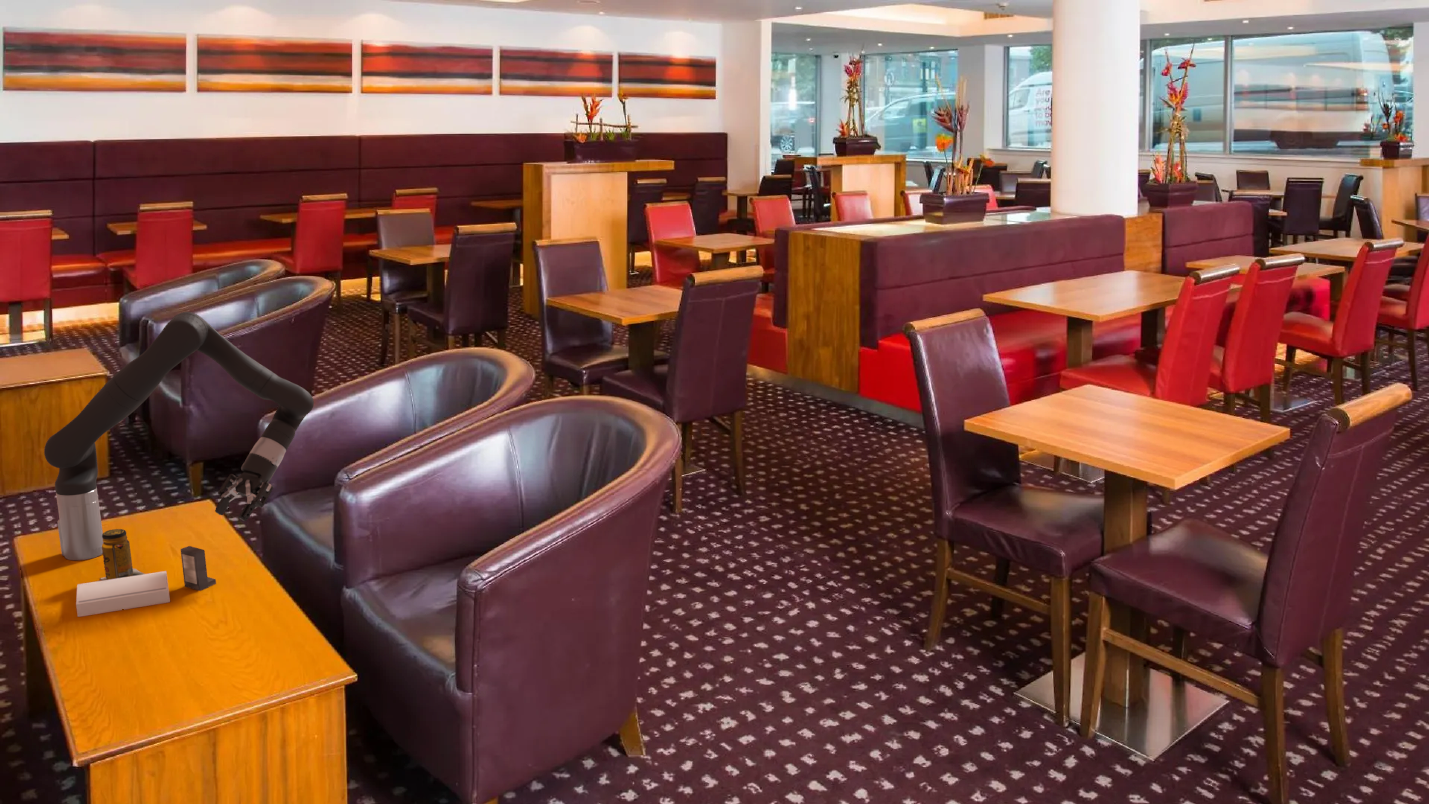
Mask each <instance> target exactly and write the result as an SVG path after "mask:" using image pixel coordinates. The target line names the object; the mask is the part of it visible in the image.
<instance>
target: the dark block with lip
mask: <svg viewBox="0 0 1429 804" xmlns="http://www.w3.org/2000/svg"><path fill="white" fill-rule="evenodd" d="M180 555H181V556H180V557H181V558H180V559H181V564H182V565H181V567H182V573H183V582H184V584H183V585H184V587H185V588H189V589H191V590H195V591H199V592H201V591H203V590H206V589H208V588H209V587H212V586H214V585H216V584H217V580H216V578H213V577H209V576H208V572H207V571H208V568H207V560H206V553H205V549H202V548H199V547H194V546H192V545H188V546H184V547H183V548H182V547H181V548H180Z"/></svg>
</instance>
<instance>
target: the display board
mask: <svg viewBox="0 0 1429 804" xmlns="http://www.w3.org/2000/svg"><path fill="white" fill-rule="evenodd" d="M75 601H76V602H75V607H76V613H77V617H80V618H81V617H87V616H91V615H98V614H104V613H110V612H111V613H112V612H116V611H123V610H122V609H124V610H129V609H135V608H141V607H147V606H154V605H160V604H167V603H170V602H171V599H170V590H169V582H168V574H167V570H164V571H163V570H162V571H157V572H152V573H151V572H150V573H144V574H143V575H137V576H130V577H123V578H117V579H110V580H104V581H103V580H97V581H92V582H91V581H90V582H86V583H85V582H83V583H77V586H76V600H75Z"/></svg>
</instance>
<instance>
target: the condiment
mask: <svg viewBox="0 0 1429 804" xmlns="http://www.w3.org/2000/svg"><path fill="white" fill-rule="evenodd" d="M102 538H103V544H102V552H103V554H102V557H103V565H104V573H105V576H104V577H100V578H99V579H100V580H101V581H104V580H110V579H117V578H123V577H130V576H137V575H143V574H145V573H144V572H141V571H140V570H138V569H137V568H133V561H132V553H131V545H130V541H129V539H128V535H127V530H125V529H123V528H115V529H109V530H106V531H104V532H103V534H102Z"/></svg>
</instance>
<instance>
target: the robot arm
mask: <svg viewBox="0 0 1429 804" xmlns="http://www.w3.org/2000/svg"><path fill="white" fill-rule="evenodd" d="M157 335H158V336H157V337H156V338H155V339H154V340H153V341H152V343H151V344H150V345H149V346H148V347H147V348H146V349H145V351H143V353H141V354H140V355H139V356H137V357H136V358H135V359H133V360H132V361H131V360H130V361H129V363H127V364H126V365H125V366H123V367H122V368H121V369H120V370H119V371H117V372H116V373H115V374H114V375H113V376H112V377H111V378H110V379H109V380H108V381H107V382H106V383H105V384H104V385H103V386H102V388H101V389H100V390H99V391H98V392H97V393H95V395H94V396H93V397H92V398H91V400H90V401H88V403H87V404H86V405H85V406H84V408H83V409H82V411H80V412H79V414H78V415H76V416H75V417H74V418H73V419H72V420H71V421H70V422H68V423H67V424H66V425H65V426H63V427H62V428H60V429H59V430H58V431H57V432H55V433H54V434H52V435H51V436H50V437H49V438H48V439H47V441H46V442H45V445H44V450H43V451H44V452H43V453H44V457H45V460H46V462H47V464H49V465H50V466H52V467H55V468H57V469H58V474H57V477H56V480H55V482H54V490H55V495H56V502H57V503H56V504H57V511H58V518H59V519H58V520H57V528H58V529H57V530H58V536H59V542H60V551H61V556H64V558H65V559H67V560H69V561H83V560H89V559H94V558H97V557H99V556H102V555H103V552H102V544H103V538H102V534H103V533H104V532H103V526H102V525H103V524H102V517H101V507H100V502H99V495H98V488H97V487H98V486H97V479H98V474H99V468H98V467H99V466H98V457H97V455H98V454H97V448H96V442H97V441H98V440H99V439H100V438H101V437H102V436H103V435H104V434H106V432H108V431H110V430H111V429H113V428H114V427H115V426H116V425H118V424H120V423H121V422H122V421H123V420H125V419H126V418H127V417H128V416H130V415H131V414H132V413H133V412H135V411H136V410H137V409H138V408H139V407H140V406H141V405H142V404H144V402H145V401H146V400H147V399H148V398H149V397H150V396H151V394H153V393H154V391H155V390H156V389H157V388H158V386H159V385H160V384H161V382H162V381H163V379H164V378H165V377H166V375H168V373H169V372H170V371H171V370H172V369H174V368H175V367H177V366H178V364H180V363H182V361H184V360H185V359H186V358H188V357H189V356H190V355H192V354H194V353H195V352H196V351H197V352H200V353H201V354H204V355H205V356H207V357H209V358H211V359H212V360H213V361H214V362H215V363H217V364H218V365H219V366H220V367H221V368H222V369H224V370H225V371H226V373H227V374H228V375H229V376H230V377H231V378H232V379H233V380H234V381H235V382H237V384H239V385H240V386H241V387H243V388H244V389H246V390H247V391H249V392H251V393H252V394H254V395H255V396H257V397H258V398H260V399H262V400H264V401H271V402H273V403H276V404H277V405H278V406H277V408H276V410H275V412H274V415H272V418H271V421H270V422H269V423H268V425H267V426H266V427H265V429H264V431H263V433H262V434H261V436H260V437H259V439H258V440H257V441H256V442H255V444H254V445H253V447H252V449H250V451H249V454H248V455H247V457H246V459H245V461H244V462H243V464H242V465H241V467H240V469H241V473H240V475H238V476H236V475H234V474H233V473H230V474H229V475H228V477H227V478H226V479H225V481H224V483H223V484H222V485H221V486H220V488H219V490H218V491H217V494H218V495H219V496H220V497H221V499H220V500H219V502H218V503H217V505H216V507H215V510H214V512H215V513H216V514H218V515H219V516H223V515H224V514H225V512H226V511H227V509H228V508H229V506H230V504H231V502H232V501H233V500H235V499H239V498H240V497H246V499H247V501H246V503H245V505H244V506H243V507H242V509H241V511H240V513H239V514H238V519H240V520H241V521H243V522H246V521H247V520H248V519H249V518H251V515H252V513H253V512H254V510H255V509H257V508H264V506H265V504H266V502H267V500H268V499H269V496H270V495H271V493H272V492H273V489H274V485H272V483H269V482H271V480H272V478H273V476H274V475H275V472H276V471H277V469H278V468H279V466H280V464H281V463H282V461H283V459H284V458H285V457H284V456H285V454H286V452H287V451H288V449H289V447H290V445H291V444H292V443H293V440H294V438H295V436H296V431H297V430H298V429H299V427H300V425H301V424H302V421H303V420H304V419H305V417H306V416H308V414H310V412H312V410H313V409H314V405H315V404H314V403H315V402H314V398H313V396H312V395H311V394H310V392H309V391H307V390H306V389H305V388H304V387H301V386H300V385H298V384H296V383H294V382H291V381H289V380H287V379H285V378H282V377H281V376H279V375H277V374H276V373H274V372H273V371H272V370H270V369H268V368H267V367H266V366H264V365H262V364H260V363H259V362H258V361H256V360H255V359H254V358H252V357H250V356H249V355H247V354H246V353H244V352H243V351H242V350H241V349H239V348H238V347H237V346H235V345H234V344H232V342H231V341H229V340H228V339H227V338H225V337H224V336H223V335H222V334H220V332H218V331H217V330H216V329H215V328H214V327H213V326H211V325H210V323H208V322H207V321H206V320H205V319H204V318H203V317H201V316H200V315H199V314H197V313H194V312H191V311H185V312H180V313H178V314H176V315H174V316H173V317H172V319H170V320H169V321H168V322H167V323H166V325H165V326H164V327H163V329H162V330H161V332H160V333H159V334H157ZM226 489H227V490H226Z"/></svg>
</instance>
